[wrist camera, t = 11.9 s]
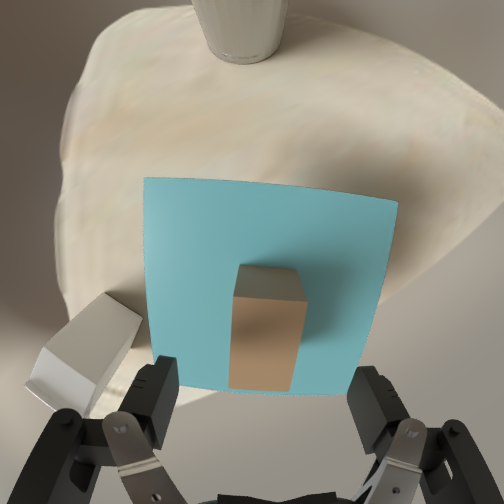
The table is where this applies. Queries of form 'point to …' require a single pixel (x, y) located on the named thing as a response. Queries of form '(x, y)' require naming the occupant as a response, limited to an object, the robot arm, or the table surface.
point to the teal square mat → (262, 282)
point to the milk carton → (84, 356)
